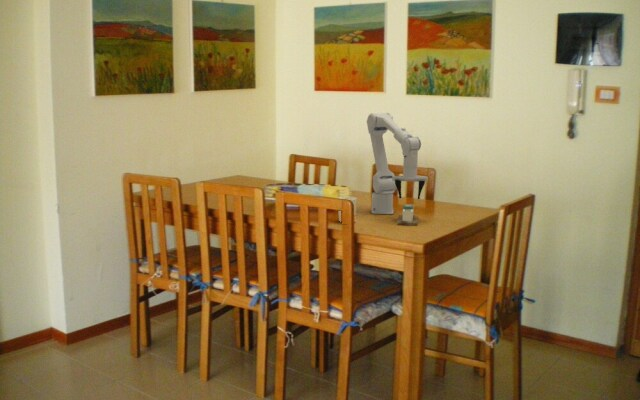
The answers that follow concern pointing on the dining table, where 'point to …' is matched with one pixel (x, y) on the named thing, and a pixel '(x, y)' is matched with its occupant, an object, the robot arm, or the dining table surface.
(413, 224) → the mounting board
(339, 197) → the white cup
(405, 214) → the block
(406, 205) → the block
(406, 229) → the dining table surface
